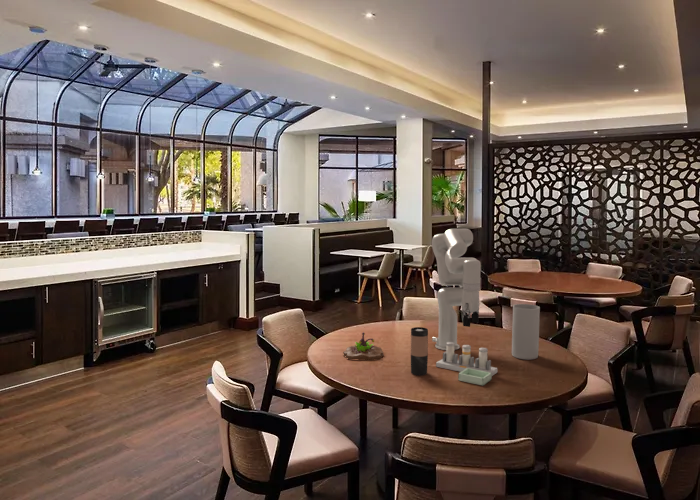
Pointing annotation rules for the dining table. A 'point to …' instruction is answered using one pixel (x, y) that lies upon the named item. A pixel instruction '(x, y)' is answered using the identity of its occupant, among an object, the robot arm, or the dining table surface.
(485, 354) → the fuse right
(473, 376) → the tray
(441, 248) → the robot arm
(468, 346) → the fuse marked
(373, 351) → the plant
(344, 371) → the dining table surface
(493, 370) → the holder
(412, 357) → the travel mug
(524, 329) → the cylinder vase
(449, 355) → the cylinder
